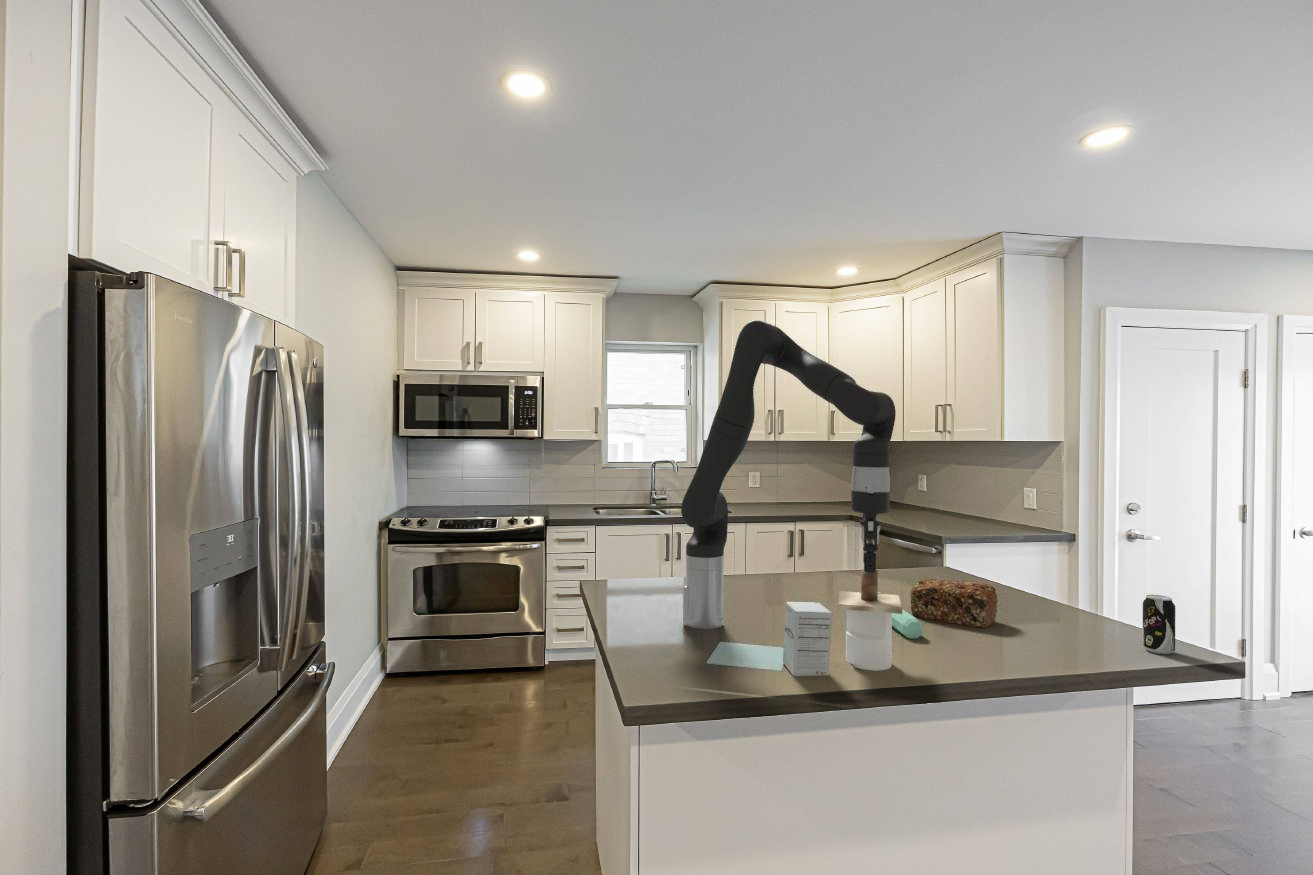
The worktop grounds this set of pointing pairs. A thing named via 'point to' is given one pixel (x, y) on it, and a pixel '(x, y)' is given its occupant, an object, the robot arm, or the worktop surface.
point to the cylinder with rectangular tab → (869, 639)
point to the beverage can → (1158, 624)
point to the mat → (748, 656)
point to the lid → (869, 597)
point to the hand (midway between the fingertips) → (869, 567)
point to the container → (907, 624)
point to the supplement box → (807, 638)
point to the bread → (954, 602)
